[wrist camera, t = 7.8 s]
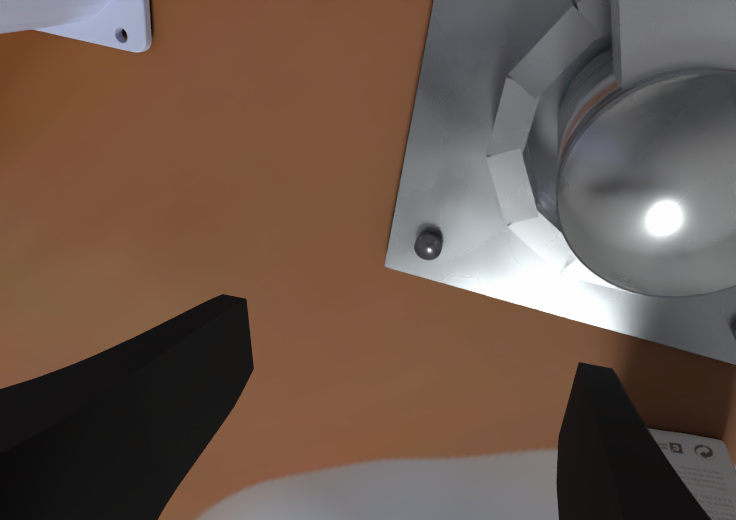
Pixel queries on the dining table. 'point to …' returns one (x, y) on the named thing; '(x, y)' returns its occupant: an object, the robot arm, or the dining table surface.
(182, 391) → the robot arm
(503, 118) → the duct flange
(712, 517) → the skincare box
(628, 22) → the cylinder with square knob
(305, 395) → the dining table surface
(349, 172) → the dining table surface
